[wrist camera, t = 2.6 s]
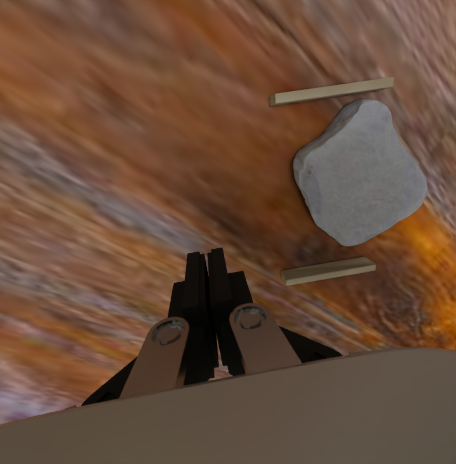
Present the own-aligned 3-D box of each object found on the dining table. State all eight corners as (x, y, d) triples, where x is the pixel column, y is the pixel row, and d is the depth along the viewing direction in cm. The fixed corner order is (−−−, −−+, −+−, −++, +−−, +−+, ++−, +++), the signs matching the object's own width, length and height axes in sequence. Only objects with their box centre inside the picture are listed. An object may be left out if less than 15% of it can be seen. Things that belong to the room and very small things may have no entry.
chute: (488, 239, 29) (518, 250, 27) (280, 276, 28) (289, 291, 26) (538, 59, 23) (585, 48, 20) (268, 97, 22) (278, 91, 19)
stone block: (330, 239, 30) (415, 187, 26) (344, 261, 25) (447, 203, 22) (271, 162, 26) (359, 91, 23) (275, 173, 22) (384, 87, 18)
